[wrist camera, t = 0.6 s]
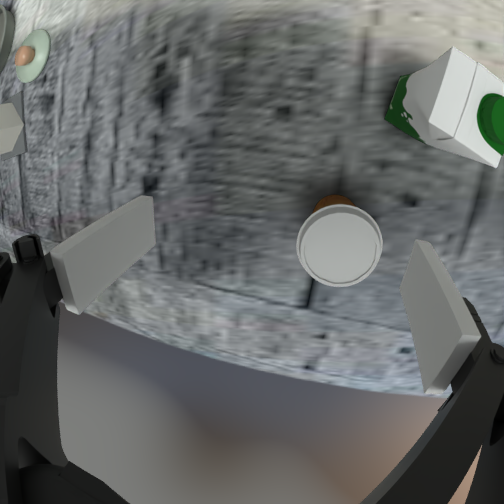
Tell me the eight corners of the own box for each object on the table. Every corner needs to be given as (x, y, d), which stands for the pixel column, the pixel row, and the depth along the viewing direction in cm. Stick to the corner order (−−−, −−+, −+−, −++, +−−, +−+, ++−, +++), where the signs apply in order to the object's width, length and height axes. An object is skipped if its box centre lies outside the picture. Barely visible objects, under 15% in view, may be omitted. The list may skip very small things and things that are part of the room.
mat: (-2, 106, 44) (-4, 106, 43) (23, 91, 41) (21, 91, 41) (3, 160, 49) (1, 161, 49) (27, 151, 47) (25, 152, 46)
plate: (20, 42, 36) (17, 42, 35) (52, 20, 34) (49, 20, 33) (18, 89, 41) (15, 89, 40) (49, 71, 39) (47, 71, 38)
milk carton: (430, 151, 34) (510, 183, 16) (374, 121, 34) (427, 125, 17) (450, 98, 30) (538, 95, 12) (395, 66, 30) (457, 29, 12)
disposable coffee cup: (365, 248, 42) (378, 291, 31) (301, 246, 44) (295, 289, 33) (369, 184, 38) (388, 209, 27) (301, 182, 40) (295, 206, 29)
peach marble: (25, 50, 36) (15, 50, 34) (37, 42, 35) (26, 42, 33) (24, 68, 38) (14, 68, 35) (36, 61, 37) (25, 61, 34)
